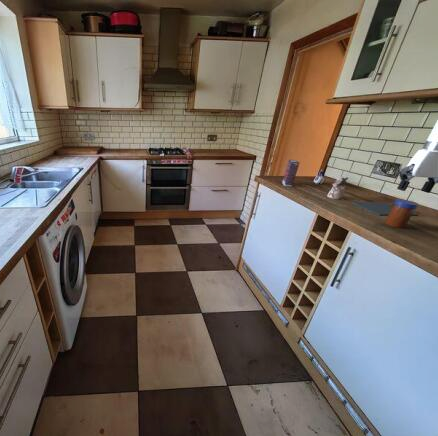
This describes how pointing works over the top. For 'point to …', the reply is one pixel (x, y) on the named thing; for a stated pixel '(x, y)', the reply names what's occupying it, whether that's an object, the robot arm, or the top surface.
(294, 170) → the supplement box
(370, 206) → the mat
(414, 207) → the lid
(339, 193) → the figurine
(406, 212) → the jar
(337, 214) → the top surface
